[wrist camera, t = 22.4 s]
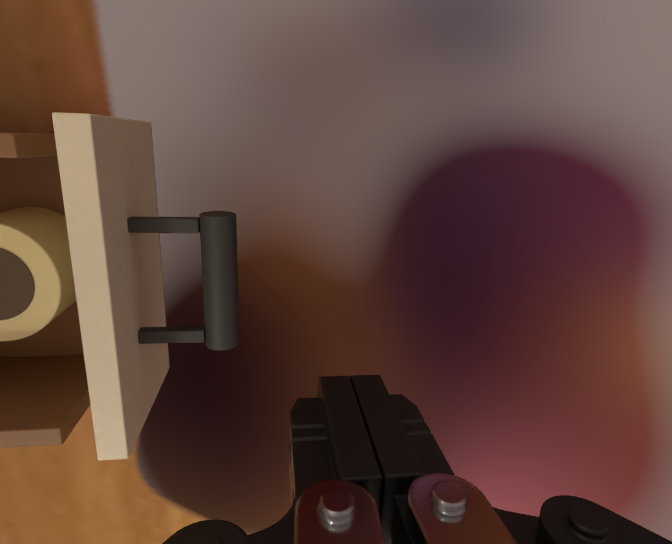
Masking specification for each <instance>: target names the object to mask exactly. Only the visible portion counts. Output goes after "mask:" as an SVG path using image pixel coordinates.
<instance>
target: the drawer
mask: <svg viewBox="0 0 672 544" xmlns="http://www.w3.org/2000/svg"><path fill="white" fill-rule="evenodd" d="M52 119H53V126H54V134H45V133H17V132H0V212H4V211H7V210H11V209H15V208H20V207H41V208H46V209H50V210H53V211H56V212H58V213H60V214H62V215H64V216H65V217H66V224H67V232H68V239H69V247H70V254H71V262H72V269H73V277H74V284H75V292H76V299H77V301H76V302H74V303H73V304H72V305H71V306H69V307H68V308H67V309H66V310H65V311H63V312H62V313H61V314H60V315H58V316H57V317H56V318H55V319H54V320H52V321H51V322H50V323H49V324H48V325H46V326H45V327H44V328H43V329H41V330H40V331H38V332H37V333H35V334H33V335H31V336H28V337H25V338H22V339H18V340H13V341H0V448H7V447H25V446H44V445H61V444H63V443H64V442H65V440H66V439H67V437H68V436H69V434H70V433H71V431H72V430H73V428H74V427H75V426H76V424H77V423H78V421H79V420H80V418H81V417H82V415H83V414H84V413H85V411H86V410H87V408H88V407H89V405H91V412H92V420H93V427H94V435H95V442H96V450H97V457H98V460H116V459H128V458H129V456H130V454H131V451H132V449H133V447H134V445H135V443H136V440H137V438H138V436H139V434H140V431H141V429H142V427H143V425H144V423H145V420H146V418H147V416H148V414H149V411H150V409H151V407H152V405H153V403H154V401H155V398H156V396H157V394H158V392H159V389H160V387H161V385H162V383H163V381H164V378H165V376H166V374H167V372H168V370H169V355H168V343H193V342H205V340H206V346H207V347H208V348H210V349H213V350H228V349H231V348H234V347H236V346H237V345H238V344H239V309H238V307H239V306H238V272H237V271H238V270H237V233H236V214H235V213H232V212H224V211H211V212H203V213H201V214H200V215H199V216H200V218H199V217H158V209H157V196H156V183H155V169H154V156H153V143H152V130H151V123H150V122H143V121H136V120H130V119H123V118H116V117H109V116H102V115H94V114H83V113H59V112H53V113H52ZM199 232H200V236H201V256H202V275H203V295H204V317H205V326H174V327H173V326H172V327H166V315H165V304H164V303H165V302H164V288H163V277H162V262H161V249H160V237H159V233H199Z"/></svg>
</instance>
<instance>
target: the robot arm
mask: <svg viewBox="0 0 672 544" xmlns="http://www.w3.org/2000/svg"><path fill="white" fill-rule="evenodd" d="M289 452H290V453H289V458H290V459H289V469H290V489H291V508H290V510H289V511H288V513H287V514H286V515H285V516H284V517H283V518H282V519H281V520H280V521H278V522H277V523H275V524H274V525H272V526H270V527H268V528H266V529H264V530H261V531H259V532H256V533H253V534H250V535H247V534H246V533H245V532H244V530H243V529H241V528H240V527H238V526H237V525H235V524H233V523H231V522H228V521H224V520H205V521H200V522H196V523H193V524H190V525H188V526H186V527H184V528H182V529H181V530H179V531H177V532H176V533H175V534H173V535H172V536H171V537H170V538H168V539H167V540H166V541H165V542H164V543H163V544H672V542H671V541H669V540H667V539H665V538H663V537H661V536H659V535H657V534H655V533H653V532H652V531H649V530H647V529H646V528H643V527H642V526H640V525H638V524H636V523H634V522H632V521H630V520H628V519H626V518H624V517H622V516H620V515H618V514H616V513H614V512H612V511H610V510H608V509H606V508H604V507H602V506H600V505H598V504H596V503H594V502H592V501H589V500H586V499H583V498H579V497H575V496H566V495H565V496H564V495H562V496H555V497H552V498H549V499H548V500H546V501H545V502H544V503H543V505H542V507H541V511H540V516H539V517H536V516H530V515H525V514H520V513H514V512H509V511H504V510H500V509H497V508H494V507H492V506H491V504H490V503H489V501H488V500H487V499H486V497H485V496H484V495H483V493H482V492H481V491H480V490H479V489H478V488H477V487H476V486H474V485H473V484H471V483H470V482H468V481H466V480H465V479H462V478H460V477H458V476H455V475H454V473H453V471H452V470H451V468H450V466H449V464H448V462H447V461H446V459H445V457H444V455H443V453H442V451H441V449H440V448H439V446H438V444H437V442H436V440H435V439H434V437H433V435H431V431H430V429H429V428H428V426H427V424H426V423H425V422H424V418H423V417H422V415H421V413H420V411H419V409H418V408H417V406H416V405H415V404H414V403H412V402H411V401H410V400H408V399H407V398H406V397H404V396H403V395H402V394H397V395H389V393H388V391H387V389H386V387H385V385H384V383H383V380H382V378H381V376H380V375H356V376H350V377H349V376H330V377H329V376H327V377H319V378H318V387H317V398H298V399H297V401H296V403H295V404H294V406H293V407H292V409H291V411H290V451H289Z"/></svg>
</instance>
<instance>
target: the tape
mask: <svg viewBox="0 0 672 544" xmlns="http://www.w3.org/2000/svg"><path fill="white" fill-rule="evenodd" d="M76 301H77V299H76V292H75V284H74V277H73V269H72V262H71V254H70V247H69V239H68V232H67V224H66V217H65V216H64V215H62V214H60V213H58V212H56V211H53V210H50V209H46V208H41V207H20V208H15V209H11V210H7V211H4V212H0V341H13V340H18V339H22V338H25V337H28V336H31V335H33V334H35V333H37V332H38V331H40V330H41V329H43V328H44V327H45V326H46V325H48V324H49V323H50V322H51V321H52V320H54V319H55V318H56V317H57V316H58V315H60V314H61V313H62V312H63V311H65V310H66V309H67V308H68V307H69V306H71V305H72V304H73V303H74V302H76Z"/></svg>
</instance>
